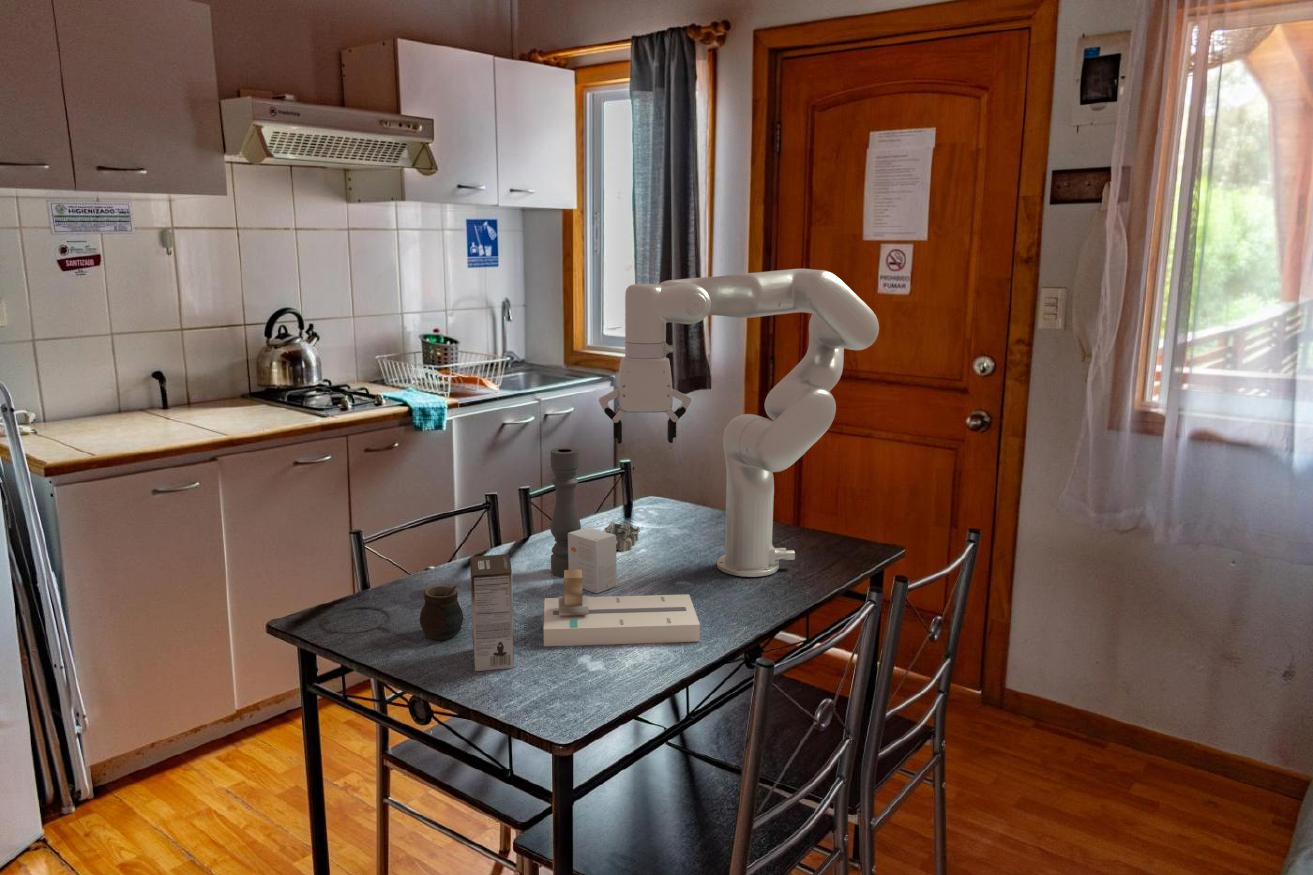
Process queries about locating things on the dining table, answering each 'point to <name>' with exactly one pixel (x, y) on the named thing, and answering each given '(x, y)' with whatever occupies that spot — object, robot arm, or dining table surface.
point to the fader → (573, 595)
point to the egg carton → (623, 535)
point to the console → (623, 621)
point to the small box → (593, 558)
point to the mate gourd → (441, 613)
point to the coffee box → (492, 612)
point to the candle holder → (563, 505)
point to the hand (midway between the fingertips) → (644, 441)
